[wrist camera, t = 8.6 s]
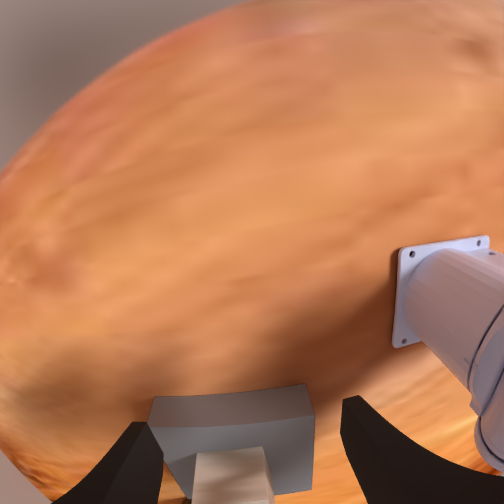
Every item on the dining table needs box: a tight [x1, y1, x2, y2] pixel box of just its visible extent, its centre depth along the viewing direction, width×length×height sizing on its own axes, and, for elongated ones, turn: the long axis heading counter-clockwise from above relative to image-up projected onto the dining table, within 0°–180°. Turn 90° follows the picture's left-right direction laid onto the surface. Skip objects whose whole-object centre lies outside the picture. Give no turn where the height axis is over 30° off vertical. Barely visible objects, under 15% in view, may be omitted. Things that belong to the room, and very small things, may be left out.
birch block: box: [192, 446, 275, 504], centre depth 17 cm, size 5×5×5 cm
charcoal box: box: [147, 384, 315, 499], centre depth 21 cm, size 12×12×4 cm
